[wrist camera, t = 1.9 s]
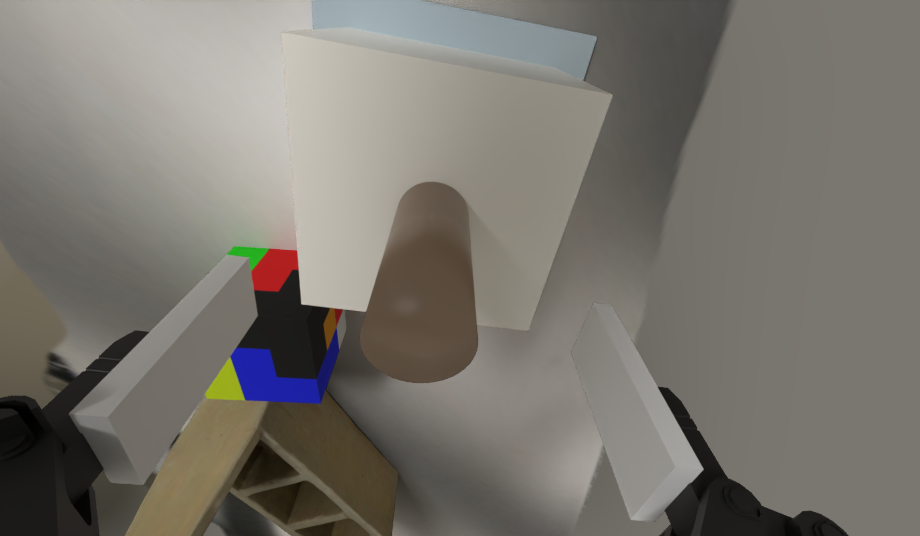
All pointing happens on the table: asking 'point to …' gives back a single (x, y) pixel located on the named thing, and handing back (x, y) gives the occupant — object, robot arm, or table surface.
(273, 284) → the puzzle toy
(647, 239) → the table surface
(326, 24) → the mat
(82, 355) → the table surface
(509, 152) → the cover box
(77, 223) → the table surface
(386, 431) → the table surface
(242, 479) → the caddy
